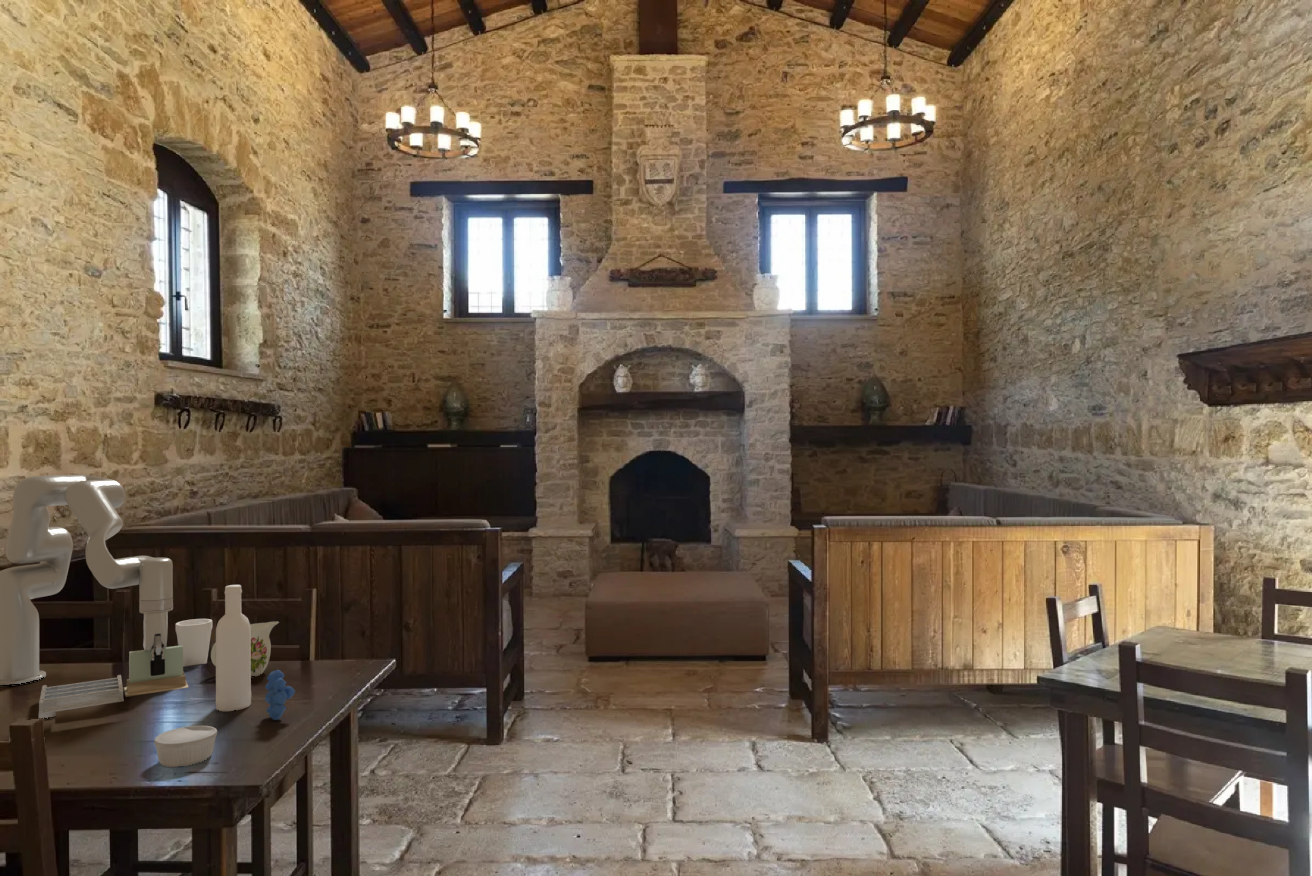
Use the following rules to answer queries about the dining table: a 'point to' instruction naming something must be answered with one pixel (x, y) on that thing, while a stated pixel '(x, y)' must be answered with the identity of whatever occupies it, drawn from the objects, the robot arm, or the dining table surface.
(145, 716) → the dining table surface
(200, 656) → the foam cup
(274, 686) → the grapes
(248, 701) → the bottle
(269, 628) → the pitcher
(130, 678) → the sage green plank
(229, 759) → the dining table surface
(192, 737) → the ramekin
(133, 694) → the stand
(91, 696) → the rack
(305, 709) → the dining table surface
